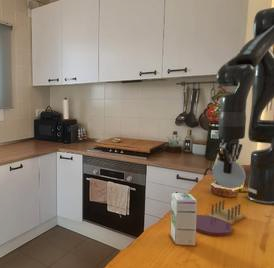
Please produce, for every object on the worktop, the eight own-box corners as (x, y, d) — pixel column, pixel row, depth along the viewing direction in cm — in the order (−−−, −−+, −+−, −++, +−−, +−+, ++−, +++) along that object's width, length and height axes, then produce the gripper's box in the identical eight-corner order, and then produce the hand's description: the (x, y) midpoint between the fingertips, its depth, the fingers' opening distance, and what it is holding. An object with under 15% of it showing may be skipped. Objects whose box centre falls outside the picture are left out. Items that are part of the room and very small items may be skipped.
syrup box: (196, 246, 81) (198, 200, 79) (174, 244, 83) (176, 199, 80) (189, 236, 87) (191, 193, 85) (169, 235, 88) (171, 192, 86)
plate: (213, 183, 102) (214, 157, 100) (244, 190, 93) (246, 162, 92) (211, 184, 101) (213, 157, 100) (243, 191, 93) (245, 163, 91)
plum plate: (198, 214, 102) (198, 211, 101) (238, 228, 91) (239, 225, 90) (178, 224, 95) (178, 221, 95) (219, 240, 84) (219, 237, 84)
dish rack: (220, 210, 105) (221, 197, 104) (243, 217, 98) (245, 204, 98) (206, 217, 99) (207, 204, 99) (230, 225, 93) (231, 211, 92)
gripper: (235, 127, 87) (231, 179, 90) (253, 123, 94) (249, 171, 97) (210, 125, 94) (207, 173, 96) (229, 121, 100) (225, 167, 103)
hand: (228, 172), depth 96 cm, fingers closed on plate, 1 cm apart
